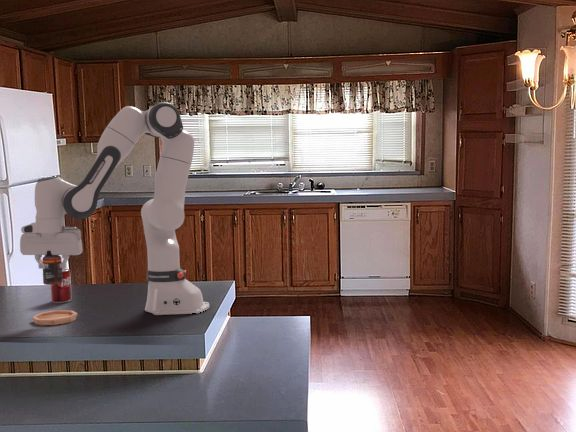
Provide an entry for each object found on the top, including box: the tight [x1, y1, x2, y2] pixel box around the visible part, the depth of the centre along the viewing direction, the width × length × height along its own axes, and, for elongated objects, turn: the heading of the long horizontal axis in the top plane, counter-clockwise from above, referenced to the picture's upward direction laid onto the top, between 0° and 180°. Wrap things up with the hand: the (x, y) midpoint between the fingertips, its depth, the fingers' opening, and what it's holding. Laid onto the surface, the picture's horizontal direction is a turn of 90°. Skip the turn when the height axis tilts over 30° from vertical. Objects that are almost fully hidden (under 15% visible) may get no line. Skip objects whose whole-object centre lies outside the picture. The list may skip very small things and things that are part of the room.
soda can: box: [50, 268, 73, 304], centre depth 230 cm, size 7×7×12 cm
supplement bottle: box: [41, 251, 63, 286], centre depth 201 cm, size 6×6×11 cm
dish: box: [32, 309, 78, 326], centre depth 202 cm, size 13×13×2 cm
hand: (52, 268), depth 201 cm, fingers closed on supplement bottle, 6 cm apart
